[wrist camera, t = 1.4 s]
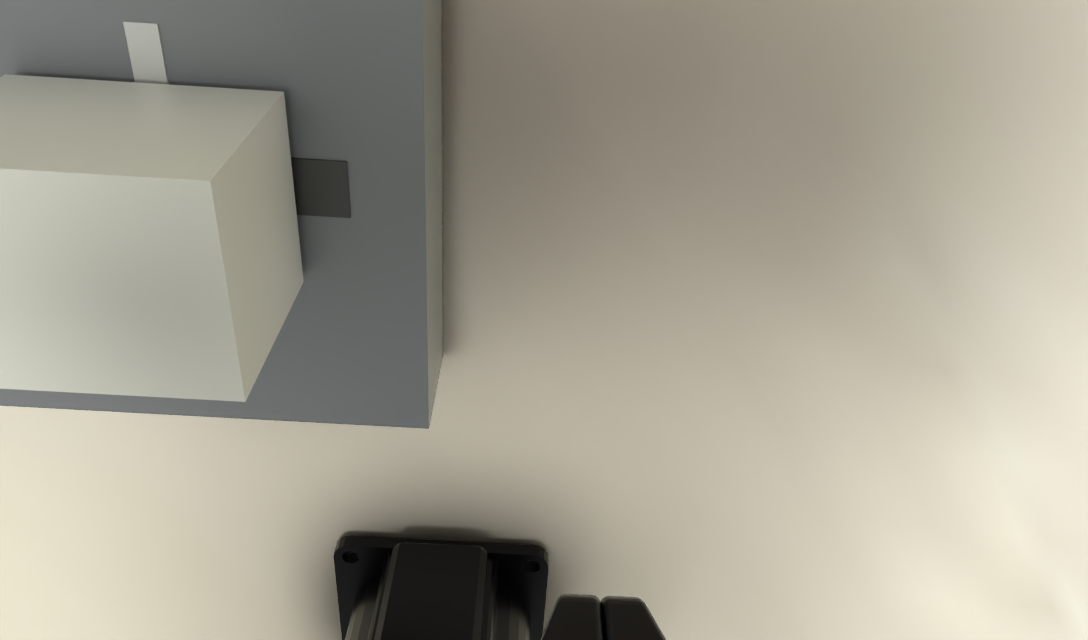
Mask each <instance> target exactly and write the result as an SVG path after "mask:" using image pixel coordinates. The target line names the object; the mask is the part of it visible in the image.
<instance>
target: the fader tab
mask: <svg viewBox="0 0 1088 640" xmlns="http://www.w3.org/2000/svg"><path fill="white" fill-rule="evenodd" d="M303 282H304V280H303V271H302V261H301V251H300V242H299V232H298V222H297V213H296V203H295V193H294V184H293V174H292V164H291V155H290V145H289V135H288V126H287V116H286V106H285V97H284V92H281V91H265V90H249V89H233V88H217V87H201V86H185V85H169V84H153V83H137V82H121V81H105V80H89V79H73V78H57V77H41V76H25V75H9V74H5V75H3V76H1V77H0V389H16V390H35V391H53V392H72V393H90V394H109V395H127V396H146V397H164V398H183V399H201V400H220V401H238V402H246V400H247V398H248V396H249V394H250V391H251V389H252V387H253V385H254V383H255V381H256V379H257V377H258V375H259V373H260V371H261V369H262V367H263V365H264V363H265V361H266V358H267V356H268V354H269V352H270V350H271V348H272V346H273V344H274V342H275V340H276V338H277V336H278V334H279V332H280V330H281V328H282V325H283V323H284V321H285V319H286V317H287V315H288V313H289V311H290V309H291V307H292V305H293V303H294V301H295V299H296V297H297V295H298V292H299V290H300V288H301V286H302V284H303Z"/></svg>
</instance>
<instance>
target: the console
mask: <svg viewBox="0 0 1088 640" xmlns="http://www.w3.org/2000/svg"><path fill="white" fill-rule="evenodd" d="M5 74H9V75H25V76H41V77H57V78H73V79H89V80H105V81H121V82H137V83H153V84H169V85H185V86H201V87H217V88H233V89H249V90H265V91H281V92H284V97H285V106H286V116H287V126H288V135H289V145H290V155H291V164H292V174H293V184H294V193H295V203H296V213H297V222H298V232H299V242H300V251H301V261H302V271H303V280H304V282H303V284H302V286H301V288H300V290H299V292H298V295H297V297H296V299H295V301H294V303H293V305H292V307H291V309H290V311H289V313H288V315H287V317H286V319H285V321H284V323H283V325H282V328H281V330H280V332H279V334H278V336H277V338H276V340H275V342H274V344H273V346H272V348H271V350H270V352H269V354H268V356H267V358H266V361H265V363H264V365H263V367H262V369H261V371H260V373H259V375H258V377H257V379H256V381H255V383H254V385H253V387H252V389H251V391H250V394H249V396H248V398H247V400H246V402H238V401H220V400H201V399H183V398H164V397H146V396H127V395H109V394H90V393H72V392H53V391H35V390H16V389H0V406H19V407H38V408H56V409H75V410H94V411H112V412H131V413H149V414H168V415H187V416H205V417H224V418H242V419H261V420H280V421H298V422H317V423H336V424H354V425H373V426H391V427H410V428H429V425H430V420H431V415H432V410H433V404H434V399H435V394H436V389H437V383H438V378H439V373H440V368H441V362H442V357H443V248H442V0H0V77H1V76H3V75H5Z"/></svg>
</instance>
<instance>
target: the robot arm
mask: <svg viewBox="0 0 1088 640" xmlns="http://www.w3.org/2000/svg"><path fill="white" fill-rule="evenodd" d="M349 551H350V552H354V553H350V552H349ZM529 561H536V562H529ZM334 563H335V573H336V583H337V593H338V603H339V612H340V622H341V632H342V640H666V639H665V637H664V635H663V634H662V632H661V630H660V628H659V627H658V625H657V623H656V622H655V620H654V618H653V616H652V615H651V613H650V611H649V609H648V608H647V606H646V605H645V603H644V602H643V601H642V600H641V599H639V598H636V597H619V596H606V597H604V598H603V599H602V600H601V602H600V601H599V599H598V598H597V597H596V596H593V595H579V594H563V595H561V596H560V597H559V598H558V600H557V602H556V604H555V606H554V609H553V611H552V613H551V616H550V618H549V621H548V623H547V625H546V628H545V630H544V633H543V635H542V631H543V620H544V609H545V599H546V588H547V577H548V553H547V552H546V550H545V549H543V548H542V547H540V546H535V545H522V544H503V543H483V542H463V541H444V540H424V539H404V538H384V537H365V536H346V537H343V538H341V539H340V540H339V541H338V542H337V546H336V549H335V553H334Z"/></svg>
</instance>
